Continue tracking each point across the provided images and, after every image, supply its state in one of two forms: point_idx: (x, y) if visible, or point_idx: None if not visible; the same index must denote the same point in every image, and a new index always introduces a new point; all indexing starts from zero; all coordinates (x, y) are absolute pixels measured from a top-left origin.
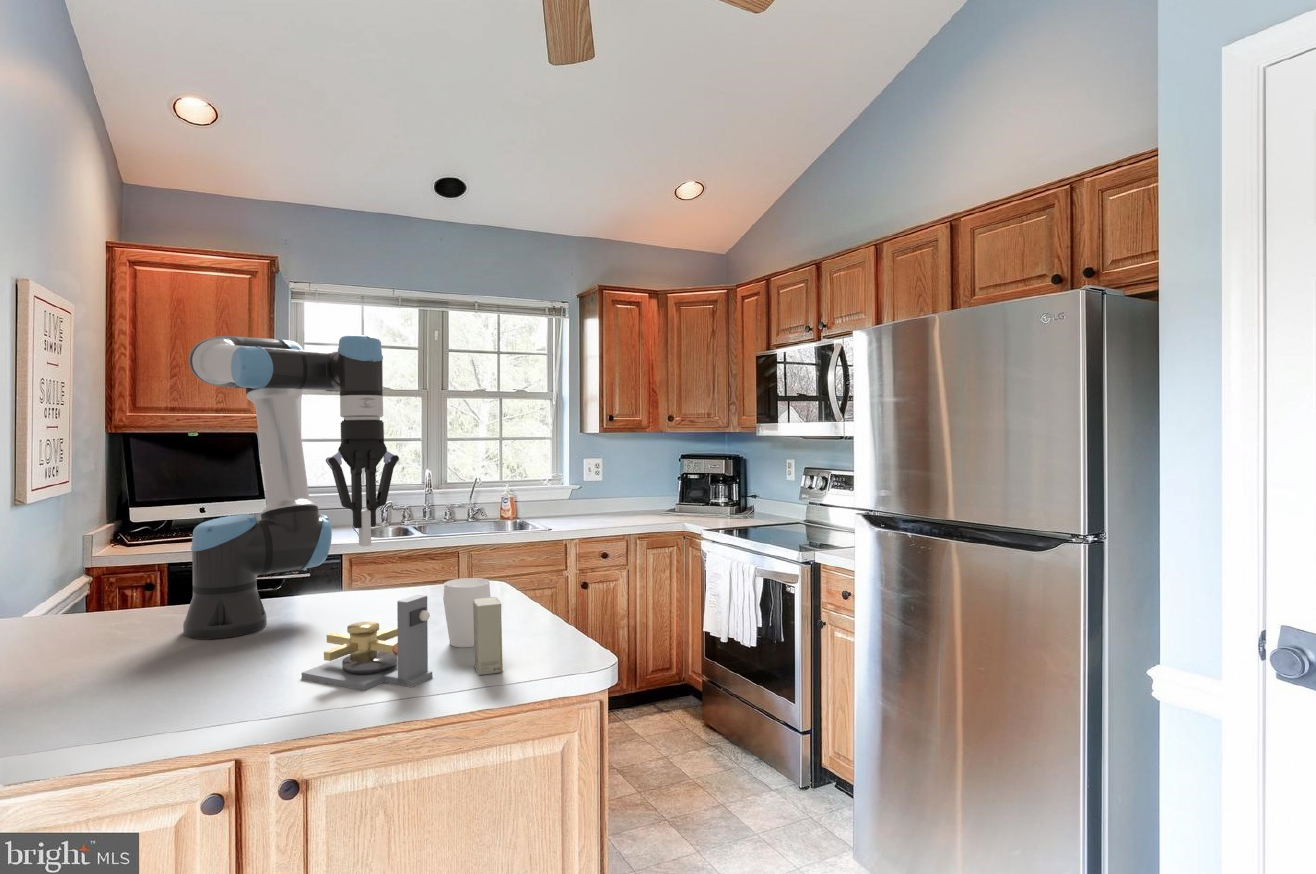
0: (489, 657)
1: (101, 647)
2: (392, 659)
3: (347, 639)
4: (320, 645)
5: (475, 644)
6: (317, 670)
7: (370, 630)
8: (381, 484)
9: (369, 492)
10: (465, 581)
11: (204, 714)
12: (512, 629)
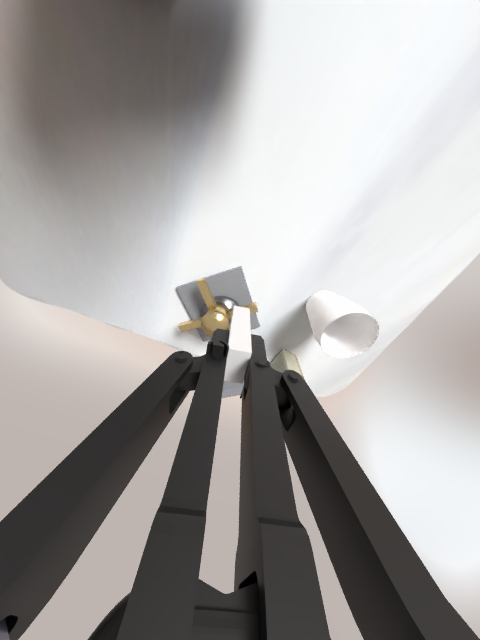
0: None
1: None
2: None
3: (207, 306)
4: (224, 191)
5: (278, 368)
6: (187, 292)
7: None
8: (307, 458)
9: (241, 433)
10: (369, 314)
11: (109, 305)
12: (378, 301)
